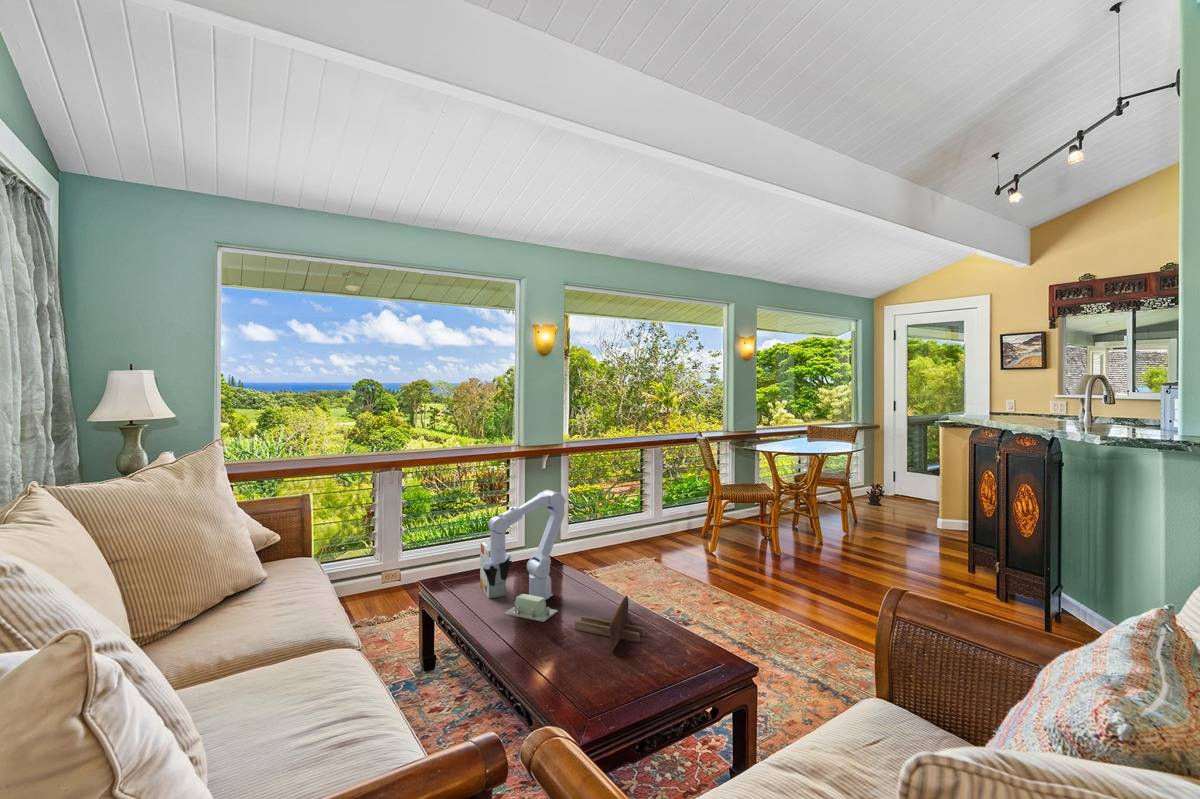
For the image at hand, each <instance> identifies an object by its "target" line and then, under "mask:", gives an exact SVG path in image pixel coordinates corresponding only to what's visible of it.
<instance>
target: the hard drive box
mask: <svg viewBox="0 0 1200 799" xmlns="http://www.w3.org/2000/svg"><path fill="white" fill-rule="evenodd" d="M479 547H480V548H479V554H480V555H479V556H480V557H479V559H480V560H479V561H480V562H479V564H480V565H479V566H480V567H479V568H480V569H479V570H480V572H479V573H480V574H479V576H480V577H479V578H480V580H479V581H480V585H479V586H480V588H481V590H482V591H483V592H484V594H485V596H486V597H487V599H491V598H492V599H493V598H498V597H505V596H506V595H507V589H506V588H507V586H506V585H507V583H506V582H507V579H506V580H501V575H500V567H499V564H498V565H495V566H494V568H496V569H498V570H497V573H496V578H495V586H490V585H489V582H488V578H487V576H486V573H485V572H484V570H483V567H484V564H485V563H487V562H488V561H489V558H491V548H490V540H483V541H480V542H479ZM506 551H507V549H506V548H505V555H506V554H507V553H506Z"/></svg>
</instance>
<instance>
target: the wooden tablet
mask: <svg viewBox="0 0 1200 799" xmlns="http://www.w3.org/2000/svg"><path fill="white" fill-rule="evenodd" d="M629 605H630V604H629V597H628V595H625V596H624V597H623V599H622V600H621V602H620V604H619V606H618V608H617V610H616V612H615V613H614V616H613V617H612V620H611V621H612V622H611V624H610V637H609V641H610V650H611V652H612V651H614V649H615V648H616V647H617V645H618V643H619V642H620V640H622V639H621V630H622V629H623V630H625V624H628V625H630V622H631V615H630V613H629Z"/></svg>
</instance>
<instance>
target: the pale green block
mask: <svg viewBox="0 0 1200 799" xmlns="http://www.w3.org/2000/svg"><path fill="white" fill-rule="evenodd" d="M515 601H516V611H517V606H520V611H521V612H526V613H531V609H535V614H536V615H539V614H540V613H542V612H544V611H545V602H546V600H545V598H543V597H538V596H533V595H529V594H526V593H521V594H519V595H518V596H515Z"/></svg>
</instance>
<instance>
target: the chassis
mask: <svg viewBox="0 0 1200 799" xmlns="http://www.w3.org/2000/svg"><path fill="white" fill-rule="evenodd" d="M513 604H514V606H513V607H511V608H510V609H508V610H506V611H505V615H508V616H511V617H512V616H513V617H517V618H521V619H522V618H523V619H526V620H532V621H537V622H543V623H544V622H546V621H547V620H549V619H550V618H551V617H553V616H555V615H556V614H557V613H558V612H559V610H558V609H553V608H550V606H547V602H546V601H545V611H544V612H542V613H540V614H539V615H536V614H535V609H531V613H526V612H521V611H520V606H517V611H516V600H514V602H513Z"/></svg>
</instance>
